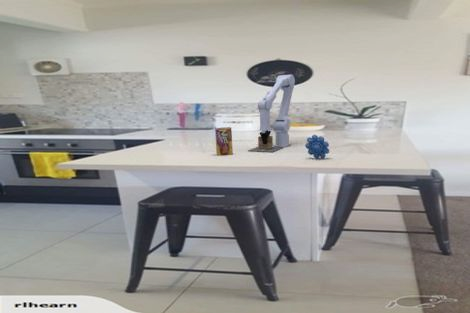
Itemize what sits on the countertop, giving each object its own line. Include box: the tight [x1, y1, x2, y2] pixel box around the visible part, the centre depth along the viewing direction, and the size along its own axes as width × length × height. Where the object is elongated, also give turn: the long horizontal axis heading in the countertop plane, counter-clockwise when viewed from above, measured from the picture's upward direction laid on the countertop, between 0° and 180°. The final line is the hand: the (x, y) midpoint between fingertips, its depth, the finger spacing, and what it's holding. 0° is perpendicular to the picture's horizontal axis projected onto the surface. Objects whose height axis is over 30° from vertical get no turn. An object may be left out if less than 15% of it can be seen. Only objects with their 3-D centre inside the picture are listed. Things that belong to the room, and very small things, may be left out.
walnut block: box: [257, 135, 274, 147], centre depth 197 cm, size 4×8×6 cm, turn 76°
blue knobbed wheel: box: [304, 134, 330, 160], centre depth 164 cm, size 12×7×12 cm, turn 73°
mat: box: [247, 146, 284, 154], centre depth 198 cm, size 16×16×1 cm
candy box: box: [214, 126, 234, 156], centre depth 187 cm, size 9×4×15 cm, turn 101°
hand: (265, 143), depth 197 cm, fingers closed on walnut block, 4 cm apart
